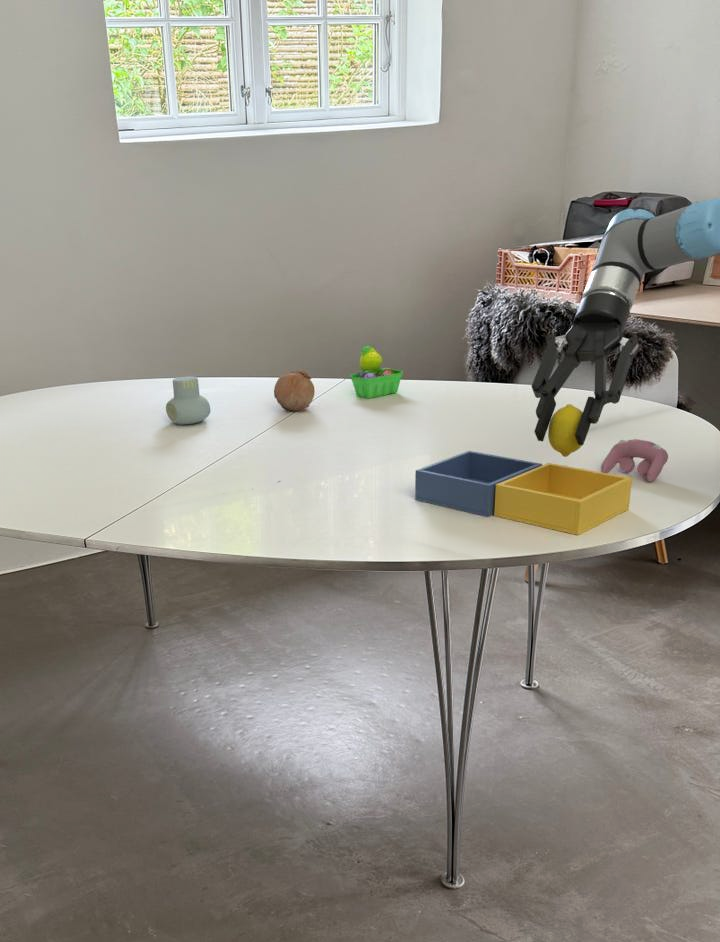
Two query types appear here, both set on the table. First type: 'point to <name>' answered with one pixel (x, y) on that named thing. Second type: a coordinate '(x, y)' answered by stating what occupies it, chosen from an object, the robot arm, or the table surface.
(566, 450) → the lemon
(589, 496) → the yellow bin
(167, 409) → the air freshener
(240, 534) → the table surface
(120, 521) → the table surface
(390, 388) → the fruit basket
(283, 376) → the onion
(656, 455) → the video game controller
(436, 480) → the blue bin
